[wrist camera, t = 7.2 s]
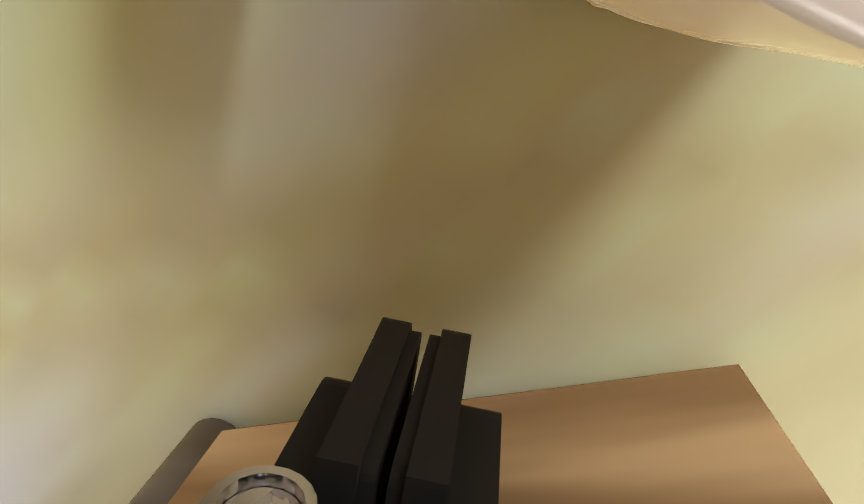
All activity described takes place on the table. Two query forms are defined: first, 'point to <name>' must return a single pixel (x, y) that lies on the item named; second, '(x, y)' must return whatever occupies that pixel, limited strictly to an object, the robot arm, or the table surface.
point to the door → (575, 446)
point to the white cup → (760, 23)
